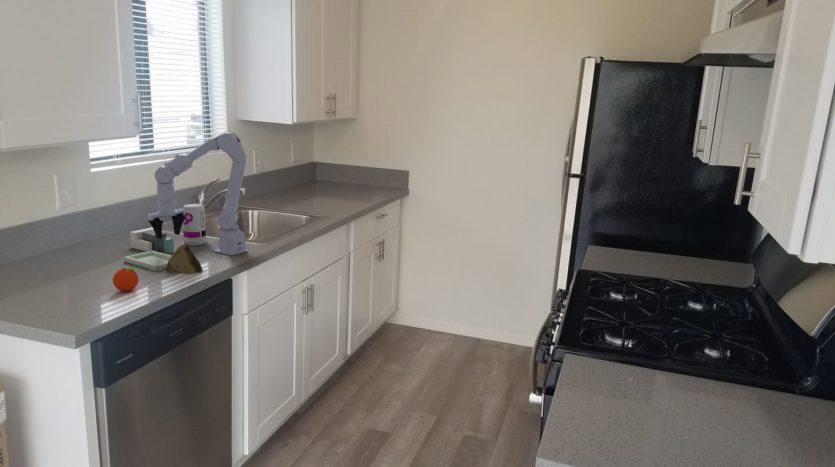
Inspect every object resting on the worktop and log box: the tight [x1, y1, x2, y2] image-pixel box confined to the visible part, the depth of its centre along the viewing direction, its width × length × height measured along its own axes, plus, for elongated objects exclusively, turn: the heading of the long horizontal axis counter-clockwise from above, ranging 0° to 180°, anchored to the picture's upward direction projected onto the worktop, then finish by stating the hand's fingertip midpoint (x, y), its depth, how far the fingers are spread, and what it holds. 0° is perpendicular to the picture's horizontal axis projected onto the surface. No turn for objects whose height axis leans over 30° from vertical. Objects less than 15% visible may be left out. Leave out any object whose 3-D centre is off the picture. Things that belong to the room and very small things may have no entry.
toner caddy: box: [142, 230, 175, 254], centre depth 224 cm, size 12×5×6 cm, turn 59°
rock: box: [165, 244, 204, 274], centre depth 200 cm, size 11×9×10 cm
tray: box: [123, 250, 173, 272], centre depth 208 cm, size 18×11×2 cm, turn 59°
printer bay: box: [129, 226, 170, 252], centre depth 226 cm, size 10×9×6 cm
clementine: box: [112, 267, 142, 292], centre depth 180 cm, size 8×7×7 cm
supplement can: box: [182, 203, 207, 246], centre depth 233 cm, size 8×8×15 cm
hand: (168, 236), depth 220 cm, fingers open, 7 cm apart
